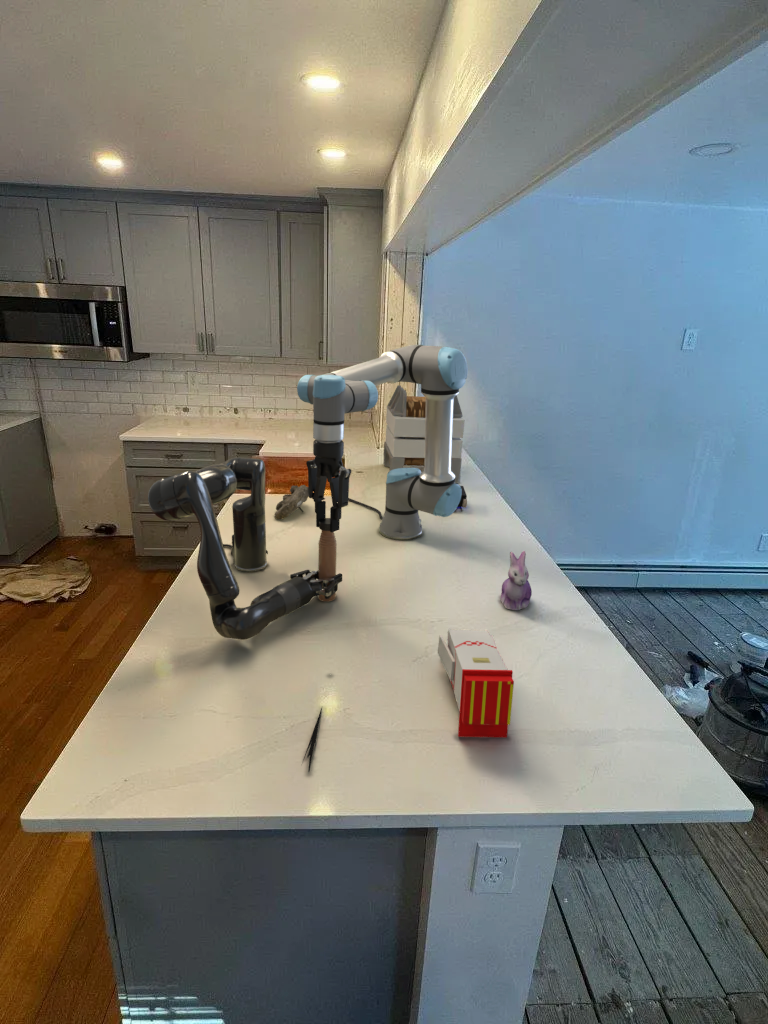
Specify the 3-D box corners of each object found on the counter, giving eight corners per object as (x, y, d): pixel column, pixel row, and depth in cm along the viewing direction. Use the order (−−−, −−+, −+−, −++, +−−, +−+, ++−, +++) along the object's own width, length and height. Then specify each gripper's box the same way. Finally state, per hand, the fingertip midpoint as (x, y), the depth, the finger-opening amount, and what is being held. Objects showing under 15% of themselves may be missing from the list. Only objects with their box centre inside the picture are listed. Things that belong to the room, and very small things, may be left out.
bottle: (339, 596, 155) (340, 522, 148) (329, 603, 151) (330, 528, 144) (324, 591, 157) (325, 518, 150) (314, 598, 153) (314, 524, 146)
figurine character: (467, 516, 223) (461, 500, 237) (469, 499, 220) (463, 483, 233) (450, 516, 223) (446, 499, 236) (452, 498, 220) (447, 483, 233)
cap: (323, 532, 144) (323, 525, 144) (316, 526, 148) (316, 519, 147) (339, 529, 147) (339, 522, 146) (331, 523, 150) (331, 516, 150)
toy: (488, 613, 130) (523, 677, 101) (484, 667, 133) (517, 744, 104) (435, 612, 130) (455, 676, 101) (432, 666, 133) (451, 743, 103)
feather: (331, 679, 122) (336, 673, 122) (307, 777, 96) (313, 769, 95) (324, 675, 122) (329, 669, 121) (298, 772, 95) (304, 764, 95)
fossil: (279, 491, 226) (308, 470, 221) (295, 509, 228) (323, 489, 223) (264, 515, 206) (294, 493, 201) (281, 534, 209) (312, 514, 204)
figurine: (514, 615, 149) (521, 563, 144) (490, 597, 158) (496, 548, 153) (541, 608, 153) (549, 557, 148) (516, 591, 162) (523, 543, 157)
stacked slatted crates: (382, 463, 289) (386, 382, 275) (445, 464, 293) (451, 384, 279) (390, 482, 257) (394, 392, 243) (460, 483, 261) (468, 394, 247)
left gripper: (310, 592, 136) (354, 568, 149) (268, 574, 144) (314, 554, 157) (310, 619, 139) (353, 594, 152) (269, 600, 146) (314, 578, 159)
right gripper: (365, 443, 137) (362, 533, 145) (314, 432, 147) (314, 516, 155) (344, 448, 132) (342, 541, 140) (293, 436, 142) (294, 523, 150)
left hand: (333, 573), depth 154 cm, fingers closed on bottle, 4 cm apart
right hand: (327, 527), depth 147 cm, fingers closed on cap, 4 cm apart
